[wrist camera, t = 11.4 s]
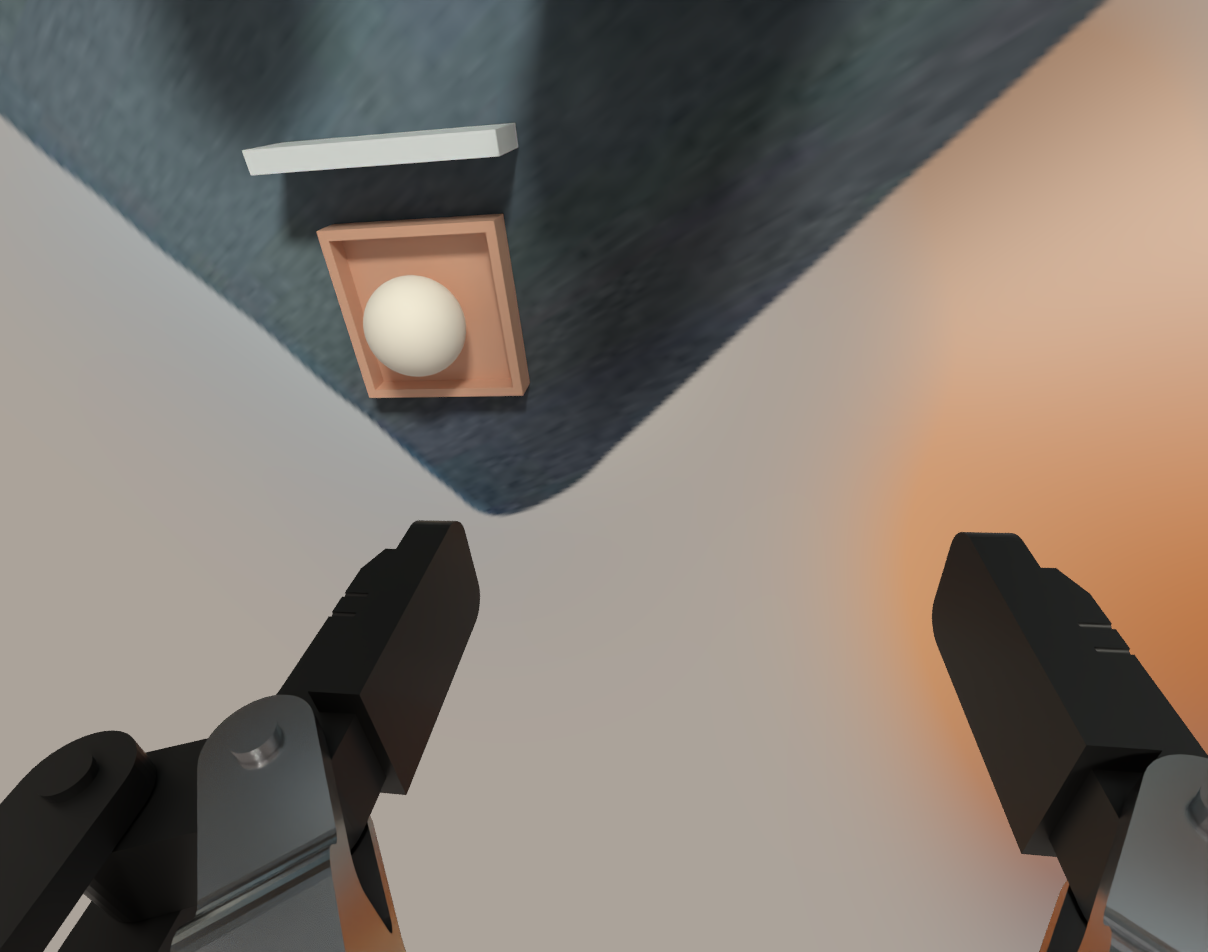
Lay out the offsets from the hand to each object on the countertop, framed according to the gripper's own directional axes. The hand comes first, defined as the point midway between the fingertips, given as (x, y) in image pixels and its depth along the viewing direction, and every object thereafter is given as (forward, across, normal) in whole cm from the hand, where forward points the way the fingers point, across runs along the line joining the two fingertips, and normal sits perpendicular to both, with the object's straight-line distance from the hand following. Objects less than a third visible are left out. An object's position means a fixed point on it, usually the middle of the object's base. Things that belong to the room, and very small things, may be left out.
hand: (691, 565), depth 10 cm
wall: (+30, +17, -4) cm, 35 cm away
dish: (+30, +17, +5) cm, 35 cm away
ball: (+29, +17, +5) cm, 34 cm away
